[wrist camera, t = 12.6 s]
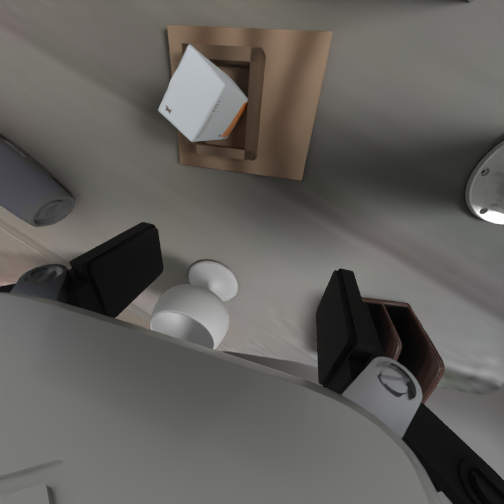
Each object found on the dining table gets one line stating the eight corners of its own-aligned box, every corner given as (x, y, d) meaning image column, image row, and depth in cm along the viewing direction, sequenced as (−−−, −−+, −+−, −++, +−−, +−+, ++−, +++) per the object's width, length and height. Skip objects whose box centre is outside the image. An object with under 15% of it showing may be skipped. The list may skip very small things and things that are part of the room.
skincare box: (227, 140, 30) (190, 144, 20) (205, 117, 29) (154, 110, 19) (254, 102, 27) (226, 84, 17) (230, 75, 26) (186, 40, 16)
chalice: (209, 244, 42) (169, 292, 29) (255, 287, 45) (237, 347, 33) (174, 275, 49) (130, 326, 36) (216, 311, 52) (190, 368, 39)
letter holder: (409, 302, 39) (455, 376, 27) (378, 361, 49) (402, 433, 38) (354, 295, 41) (376, 362, 29) (335, 353, 51) (345, 420, 39)
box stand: (331, 36, 23) (337, 18, 20) (301, 179, 32) (301, 185, 28) (172, 29, 26) (151, 12, 22) (183, 163, 34) (170, 166, 31)
